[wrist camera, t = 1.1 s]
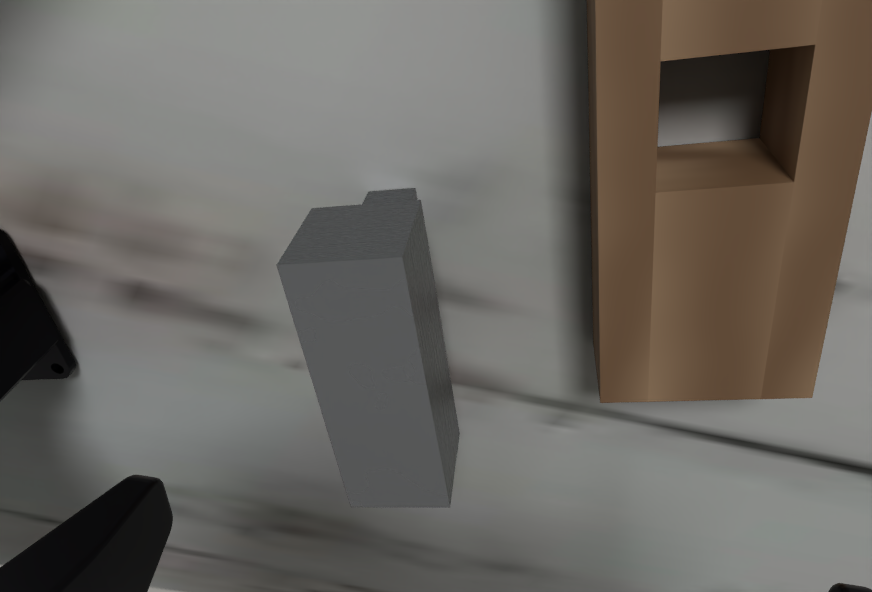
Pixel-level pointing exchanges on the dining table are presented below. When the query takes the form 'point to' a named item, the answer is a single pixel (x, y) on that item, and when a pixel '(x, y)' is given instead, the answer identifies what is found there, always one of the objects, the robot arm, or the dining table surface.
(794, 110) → the rail
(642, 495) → the dining table surface
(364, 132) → the dining table surface
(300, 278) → the grey block
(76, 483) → the dining table surface
